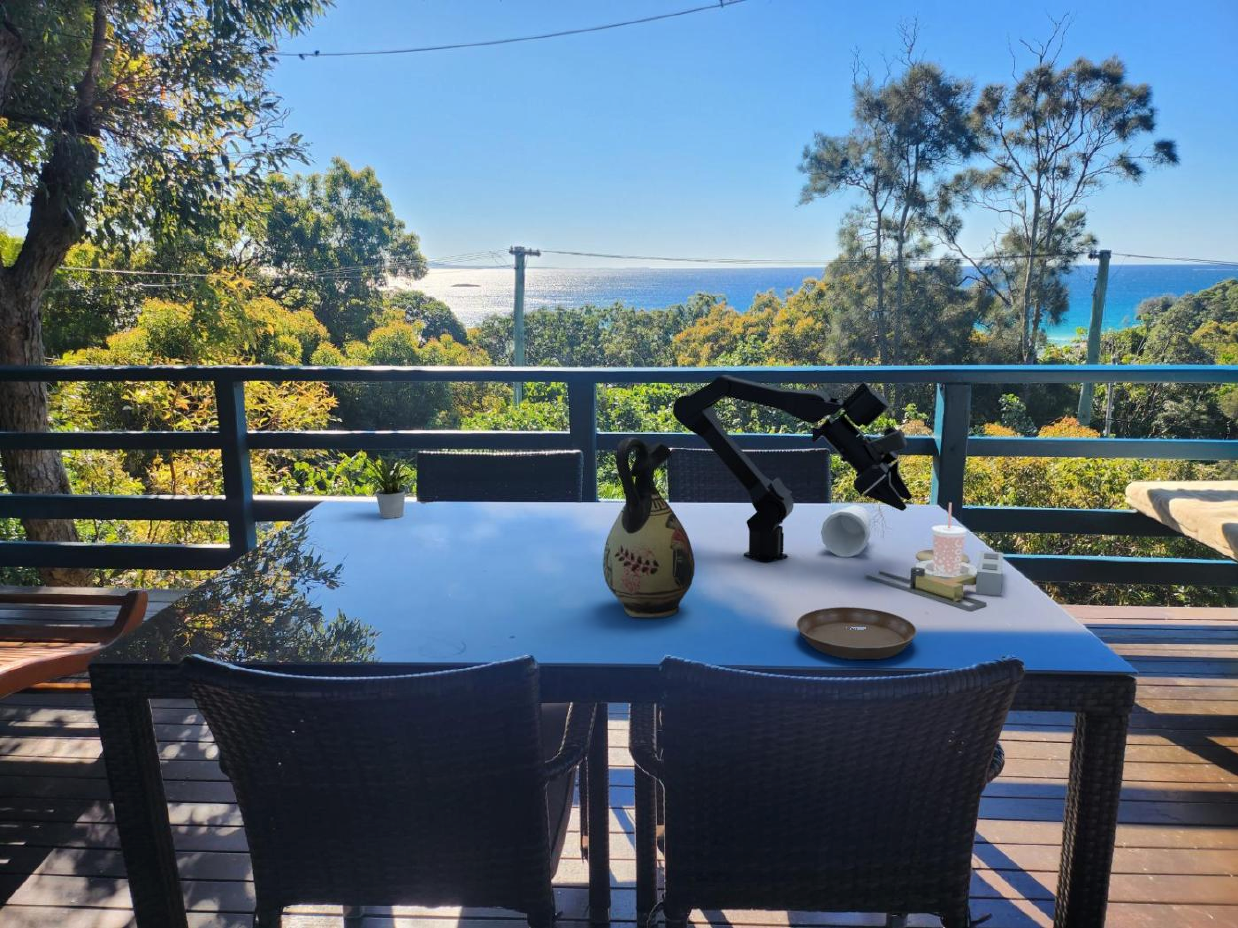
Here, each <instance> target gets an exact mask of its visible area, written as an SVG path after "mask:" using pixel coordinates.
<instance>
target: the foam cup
mask: <svg viewBox="0 0 1238 928" xmlns="http://www.w3.org/2000/svg"><path fill="white" fill-rule="evenodd" d="M820 535H821V540H822V543H823V544H824V546H825V548H826V549H827V550H828V551H829V552H831V553H833V554H834V555H836V556H837V557H842V558H845V557H846V558H851V557H854V556H856V555H859V554H860V553H862V551H863V550H864V549H865V548H867V545H868V543H869V540H870V537H871V517H870V514H869V512H868V511H867V510H866V508H864V507H862V506H860V505H854V504H853V505H852V504H851V505H850V506H847V507H845V508H841V509H839V510H836V511H834V512H832V513H830V514H829V516H828V517H827V518H826V519H825V520H824V521H823V523H822V527H821V531H820Z"/></svg>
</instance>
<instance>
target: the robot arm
mask: <svg viewBox="0 0 1238 928" xmlns="http://www.w3.org/2000/svg"><path fill="white" fill-rule="evenodd" d="M725 397H727V398H731V399H736V400H740V401H744V402H748V403H753V404H757V405H762V406H765V407H768V408H769V407H770V408H775V409H777V410H780V411H783V412H785V413H786V414H788V415H790V416H791V417H794V418H796V419H798V420H801V421H803V422H805V423H807V424H808V423H809V424H815V423H818V422H820V421H822V420H823V419H825V418H826V417H828V416H832V415H833V416H834V415H835V414H837V413H840V411H842V410H844V411H843V412H842V413H841V414H840V415H838V417H836V418H833V417H829V418H827V420H825V422H823V423H822V424H821V425H820V426H813V427H812V428H811V431H812V432H811V433H812V437H811V442H812V443H816V442H817V441H819V440H820V439H821V438H822V437H823V438H824V439H825V441H826V442H827V443H828V444H829V445H830V447H832V448H833V449H834V450H835V451H836V452H837V453H838V455H839V456H840V457H841V458H840V460H841V462H842V463H847V464H848V465H849V466H850V467H851V468H852V469H853V470H854V472H856V474H855V479H854V480H853V489H854V490H855V491H856V492H857V493H858V494H859V495H860V496H861V495H863V496H864V497H868V498H871V499H873V500H875V501H878V502H881V503H883V504H885V505H888V506H890V507H892V508H894V509H897V510H899V511H901V512H903V511H904V510H906V509H907V507H908V506H907V505H906V504H905V502H904V501H903V499H904V500H906V501H910V500H911V499H912V498H913V495H912V493H911V492H910V490H909V488H908V487H907V485H906V482H904V480H903V478H902V476H901V474H900V473H899V466H900V460H899V459H898V458H899V456H898V455H897V454H896V452H895V451H901V450H902V449H905V448H906V447H907V445H908V441H907V439H906V436H905V432H903V430H902V429H901V428H899V429H897V428H896V427H894V426H889V427H887V428H885V429H884V432H883V435H881V436H879V437H877V438H875V439H873V438H872V437H871V435H865V436H864V434H863V433H862V432H861V431H860V430H859V429H858V428H857V427H859V428H860V427H862V426H864V427H867V428H869V427H870V425H872V424H873V423H874V422H875V421H876V420H877V419H878V418H880V417H881V416H882V415H883V414H884V413H885V412H886V411H887V410H888V409H890V408H891V404H890V403H889V401H888V400H887V399H886V398H885V396H884V395H883V394H882V393H881V392H880V391H877V390H876V389H875V388H873V387H872V386H870V385H869V384H868V383H867V382H866V381H863V382H862V383H860V384H859V385H858V386H857V387H856V389H855V390H854V391H853V392H852V393H851V394H849V396H847V398H846V399H843V398H836V397H832V396H829V394H828V393H827V392H825V391H823V390H820V389H787V388H782V387H778V386H774V385H773V386H772V385H769V384H764V383H759V382H756V381H752V380H746V379H742V378H737V377H734V376H732V375H730V374H724V375H720V376H717V377H716V378H715V379H713V380H712V381H711V382H709V384H707V385H705V386H703V387H701V388H700V389H698V390H696V391H695V392H694V391H693V392H690V393H688V394H684V395H682V396H679V397H677V399H675V401H674V403H673V406H672V413H673V414H672V415H673V416H674V418H675V420H676V421H678V423H680V424H681V425H682V426H684V427H685V428H686V429H687V430H689V431H690V432H692V433H693V434H695V435H697V436H699V437H701V438H702V439H703V441H704V442H705V443H706V444H707V445H708V446H709V448H710V449H711V450H712V451H713V452H714V453H715V454H716V456H717V457H718V459H720V461H721V462H722V463H723V464H724V465H725V466H726V468H727V469H729V470H728V471H730V472H731V473H732V475H733V476H734V477H735V478H736V479H737V480H738V482H739V483H740V484H741V485H742V486H743V487H744V489H745V490H746V491H747V494H748V496H749V497H748V498H749V499H750V501H751V505H752V506H753V509H754V510H755V511H756V512H755V513H754V514H753V515H752V516H750V517H749V519H747V520H746V525H747V528H748V551H747V552H744V553H743V556H744V557H747V558H750V559H753V560H756V561H759V562H763V563H769V562H772V561H776V560H777V561H778V560H782V559H786V558H788V554H786V553H784V532H783V531H784V530H783V527H784V526H782V524H783V522H784V520H785V519H787V517H789V515H790V514H791V513H792V512H793V509H794V505H795V504H794V503H795V501H794V498H793V497H792V495H791V494H792V493H793V492H792V491H791V490H790V489H789V488H787V487H786V486H785V485H784V483H783V481H782V480H781V479H780V478H779V477H776V478H775V479H773V480H771V479H769V478H768V477H766V476H765V475H764V474H763V472H761V470H759V468H758V467H757V466H756V465H755V464H754V462H752V460H751V459H750V458H749V457H748V455H747V454H746V453H745V452H744V451H743V449H741V447H739V445H738V444H737V443H736V441H734V439H733V438H732V437H731V436H730V435H729V433H728V432H727V431H726V430H725V429H724V427H722V425H721V424H720V423H719V422H720V421H719V419H718V417H717V413H716V412H715V409H714V408H713V406H714V405H715V404H717V403H719V402H720V401H721V400H723V399H724V398H725ZM846 416H847V417H846ZM856 426H857V427H856ZM897 459H898V460H897ZM904 512H905V511H904Z"/></svg>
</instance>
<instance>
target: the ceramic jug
mask: <svg viewBox="0 0 1238 928" xmlns="http://www.w3.org/2000/svg"><path fill="white" fill-rule="evenodd" d="M633 451H635V452H634V455H635V456H634V457H635V458H634V461H633V464H632V467H631V466H630V461H629V460H630V453H632V452H633ZM671 456H672V451H671V449H670V448H669V447H668V446H667V445H665V444H664V443H661V442H656V443H655V444H653V445H651V446H649V444H648V443H647V442H645V441H643V440H642V439H639V438H637V437H633V436H631V437H630V436H629V437H625V438H624V439H622V440H620V442H619V443H618V444H617V446H616V450H615V465H616V470H617V472H618V478H619V479H620V483H621V485H622V489H623V490H622V491H623V494H624V496H625V504H624V506H623V507H622V509H621V510H620V512H619V514H618V516H617V518H616V519H615V521H614V523H613V525H612V526H611V529H610V530H609V534H608V536H607V538H606V542H605V545H604V551H603V559H602V571H603V576H604V580H605V583H606V585H607V587H608V588H609V590H610V591H611V592H612V594H613V595H614V596H615V598H616V599H618V601H619V602H620V603H621V604H622V606H623V607H622V608H623V610H624V612H625V614H627V615H628V616H629V617H631V618H666V617H669V616H673V615H675V614H677V613H679V612H680V608H679V605H680V603H681V602H682V600H683V598H684V597H685V595H686V594H687V593H688V591H689V590H690V588H691V586H692V585H693V579H694V576H695V567H696V566H695V565H696V564H695V557H694V552H693V548H692V545H691V542H690V539H689V538H690V537H689V536H688V533H687V532H686V530H685V528H684V526H683V525H682V522H681V521H680V520H679V519H678V517H677V515H676V514H675V512H674V510H673V509H672V508H671V506H670V505H669V504H668V502H667V501H666V500H665V499H664V497H662V495H661V493H660V491H659V490H658V488H657V487H656V483H655V481H654V473H655V471H656V470H657V469H658V468H659V467H660V466H661V465H663V463H665V462H666V461H668V460H669V459H670V458H671Z"/></svg>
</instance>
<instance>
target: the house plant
mask: <svg viewBox="0 0 1238 928" xmlns="http://www.w3.org/2000/svg"><path fill="white" fill-rule="evenodd" d="M392 454H393V452H391V454H390V457H389V461H388V463H386V461H384V459H383V457H382V456H381V455H380V454H379V453H378V456H377V457H378V458H379V460H380V465H379V467H378V465H377V463H376V461H375V460H373V459H372V458H370V457H368V456H366V455H365V456H363V455H362V457H363V458H366V459H369V461H371V462H372V463H371V462H369V461H360V462H361V463H366V464H369V465H371V466H372V467H373V468H374V469H375V470H376V472H377V473H379V475H378V474H377V473H376V472H375V470H374V469H373V468H372V467H370V466H368V465H365V464H363V465H361V466H362V467H367V468H369V469H370V470H371V471H372V472H373V473H374V474H375V475H372V476H371V477H369V480H370V482H369V483H368V486H372V484H375V485H376V486H377V487H378V488H379V489H380V490H377V491H376V492H375V496H376V501H377V505H378V510H379V514H380V518H382V519H385V518H393V519H396V518H395V517H399V518H401V517H400V516H402V515H404V510H405V509H404V507H405V500H406V499H405V498H406V490H405V489H403V488H401V487H402V486H403V484H405V482H407V481H409V480H412V479H414V478H412V477H410V478H407V477H409V476H410V474H403V475H401V473H402V472H403V470H404V468H406V466H407V465H408V464H409V463H410V462H411V461H412V460H414V459H416V458H417V457H412V458H411V459H409V460H408V461H406V463H404V461H402V457H400V458H399V459H398V462H397V464H396V466H395V468H394V470H393V472H392V474H391V462H392V460H393V458H394V457H395V455H394V456H392ZM391 456H392V457H391ZM401 461H402V462H401ZM403 463H404V465H403V466H402V464H403ZM401 466H402V468H401ZM400 468H401V469H400ZM390 475H391V476H390ZM404 478H406V480H404V481H403V482H402V480H403V479H404ZM372 479H373V480H372ZM374 479H375V480H374ZM376 482H378V483H379V484H380V485H381V486H379V485H378V483H376ZM402 517H403V516H402Z"/></svg>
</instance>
